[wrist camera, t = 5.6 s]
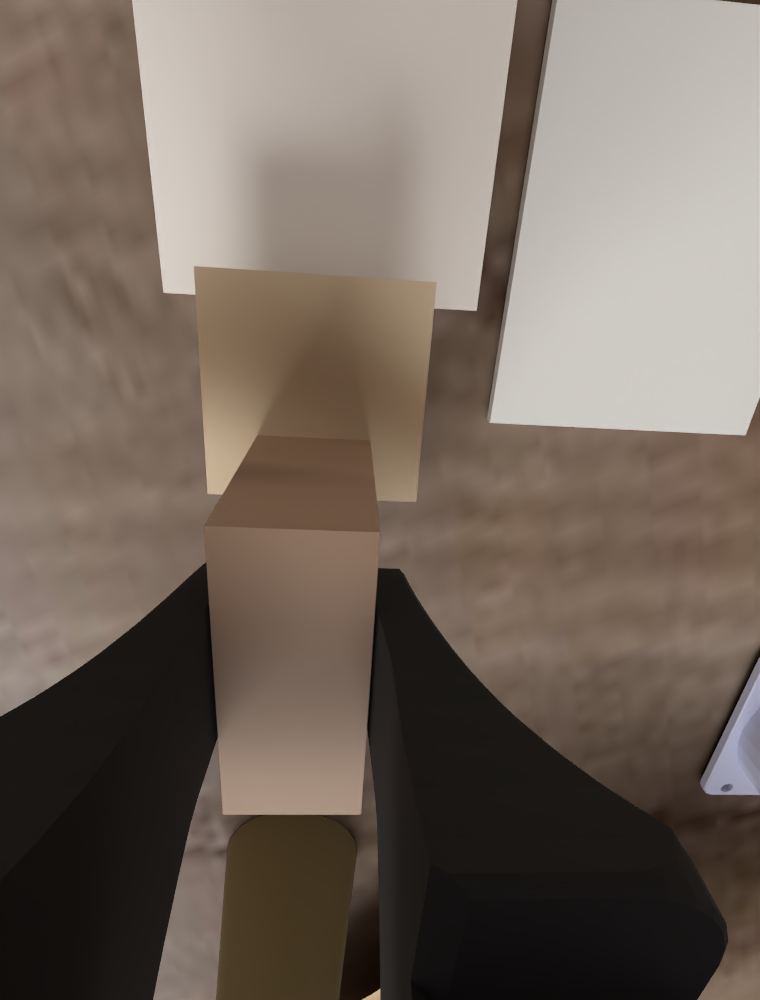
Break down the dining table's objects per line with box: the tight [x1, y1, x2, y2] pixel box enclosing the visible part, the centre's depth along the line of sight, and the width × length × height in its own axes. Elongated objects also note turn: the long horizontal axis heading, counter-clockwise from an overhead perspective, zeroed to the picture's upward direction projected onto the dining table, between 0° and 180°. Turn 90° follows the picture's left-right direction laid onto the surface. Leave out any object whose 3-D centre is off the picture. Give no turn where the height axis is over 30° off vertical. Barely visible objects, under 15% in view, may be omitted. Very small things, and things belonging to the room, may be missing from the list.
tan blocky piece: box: [194, 266, 437, 815], centre depth 11 cm, size 10×5×6 cm, turn 176°
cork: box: [216, 815, 357, 1000], centre depth 21 cm, size 6×6×11 cm
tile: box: [132, 0, 517, 311], centre depth 13 cm, size 8×1×8 cm
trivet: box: [487, 0, 760, 435], centre depth 15 cm, size 8×10×1 cm
